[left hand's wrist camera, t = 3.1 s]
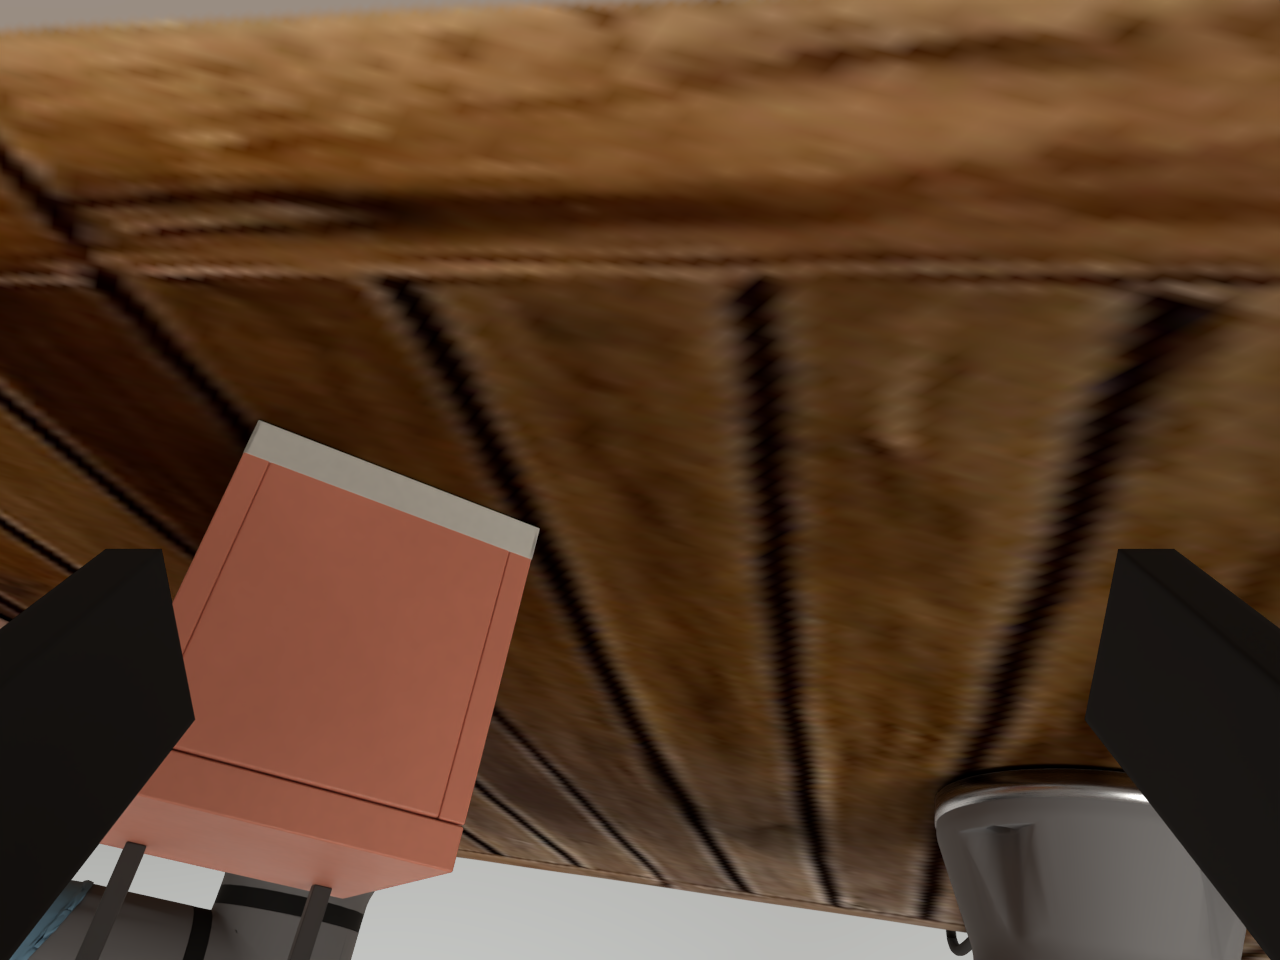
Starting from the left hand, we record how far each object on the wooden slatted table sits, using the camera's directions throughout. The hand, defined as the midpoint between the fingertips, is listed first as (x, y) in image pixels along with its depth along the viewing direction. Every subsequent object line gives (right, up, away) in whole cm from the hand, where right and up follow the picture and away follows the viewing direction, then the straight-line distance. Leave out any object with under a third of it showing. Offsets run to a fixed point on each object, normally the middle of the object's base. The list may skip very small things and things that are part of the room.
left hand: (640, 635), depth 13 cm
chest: (-11, -1, +24) cm, 26 cm away
